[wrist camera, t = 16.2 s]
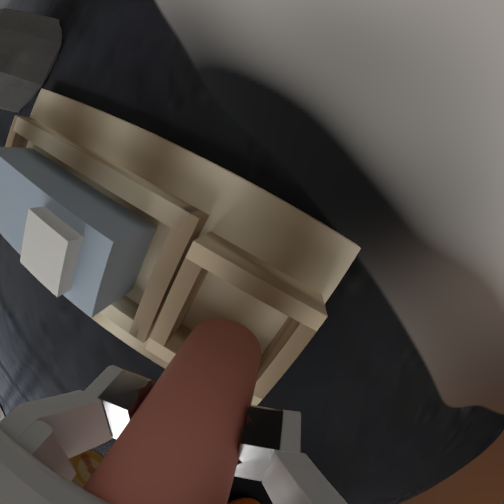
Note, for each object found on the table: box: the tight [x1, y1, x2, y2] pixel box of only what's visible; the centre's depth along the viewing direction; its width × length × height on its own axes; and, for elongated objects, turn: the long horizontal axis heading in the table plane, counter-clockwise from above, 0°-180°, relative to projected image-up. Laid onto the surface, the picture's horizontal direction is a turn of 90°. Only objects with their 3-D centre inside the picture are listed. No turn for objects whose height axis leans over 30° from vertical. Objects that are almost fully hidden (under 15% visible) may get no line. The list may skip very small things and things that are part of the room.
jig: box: [5, 88, 361, 406], centre depth 14 cm, size 23×12×4 cm, turn 62°
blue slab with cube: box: [0, 147, 157, 318], centre depth 12 cm, size 12×4×5 cm, turn 62°
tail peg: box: [83, 318, 261, 504], centre depth 7 cm, size 3×3×8 cm
